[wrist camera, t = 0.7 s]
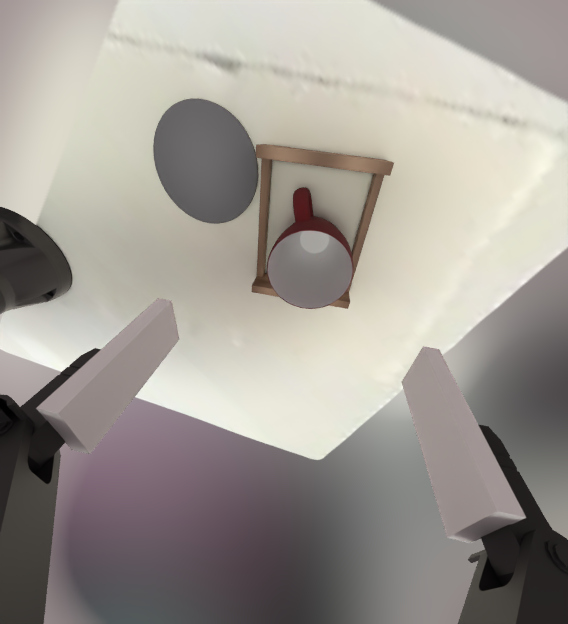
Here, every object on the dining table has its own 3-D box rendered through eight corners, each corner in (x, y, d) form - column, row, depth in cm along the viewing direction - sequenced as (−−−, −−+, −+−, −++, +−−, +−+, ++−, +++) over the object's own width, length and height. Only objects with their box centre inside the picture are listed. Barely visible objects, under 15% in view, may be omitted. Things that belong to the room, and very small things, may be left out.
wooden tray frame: (259, 278, 35) (251, 292, 32) (265, 144, 26) (256, 144, 22) (346, 292, 34) (347, 308, 31) (385, 160, 25) (393, 162, 22)
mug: (265, 197, 29) (240, 218, 21) (332, 169, 26) (333, 182, 18) (295, 274, 34) (284, 316, 26) (353, 258, 31) (362, 298, 23)
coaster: (166, 214, 32) (164, 216, 31) (145, 92, 25) (142, 91, 24) (256, 228, 31) (254, 230, 31) (260, 106, 24) (259, 106, 24)
